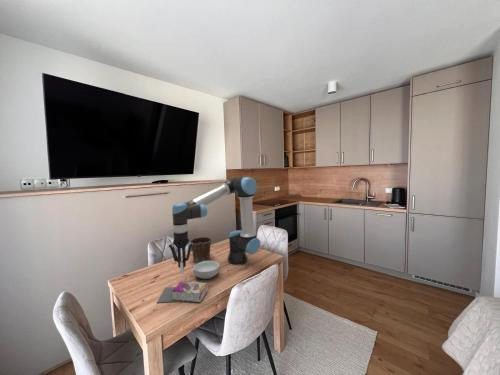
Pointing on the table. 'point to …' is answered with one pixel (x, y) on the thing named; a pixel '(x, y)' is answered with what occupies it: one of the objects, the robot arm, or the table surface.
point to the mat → (167, 296)
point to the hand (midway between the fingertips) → (182, 272)
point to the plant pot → (201, 249)
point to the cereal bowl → (206, 269)
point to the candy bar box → (189, 291)
